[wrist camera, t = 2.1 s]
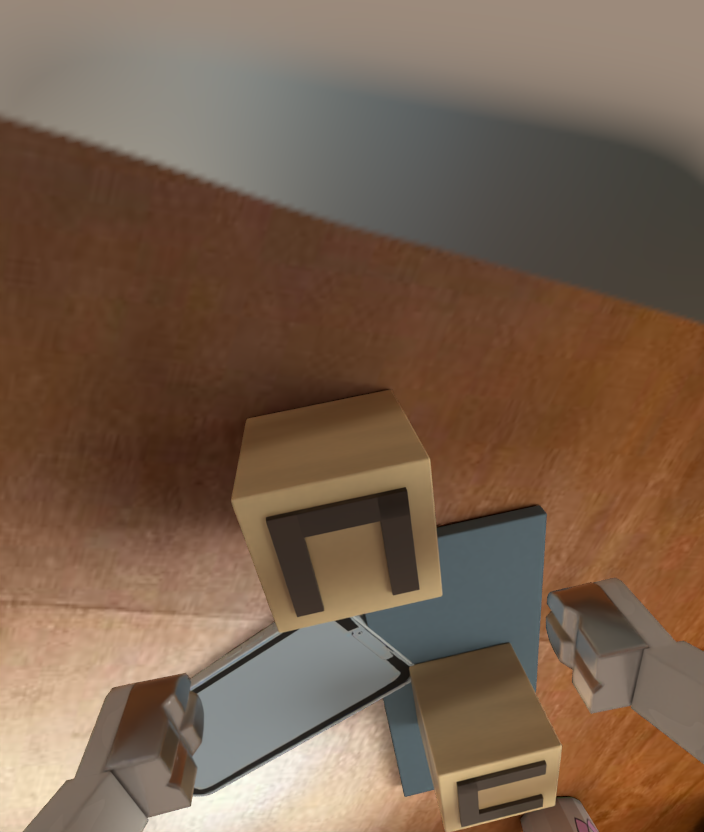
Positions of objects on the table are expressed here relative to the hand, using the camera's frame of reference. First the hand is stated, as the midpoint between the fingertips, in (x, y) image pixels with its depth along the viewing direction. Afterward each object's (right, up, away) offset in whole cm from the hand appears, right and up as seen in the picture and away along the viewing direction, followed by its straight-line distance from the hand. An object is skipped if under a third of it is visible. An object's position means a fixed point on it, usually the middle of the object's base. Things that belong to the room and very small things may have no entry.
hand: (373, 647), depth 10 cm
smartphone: (-5, -9, +12) cm, 16 cm away
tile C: (-1, +3, +6) cm, 7 cm away
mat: (+5, -8, +13) cm, 16 cm away
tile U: (+5, -8, +12) cm, 16 cm away
